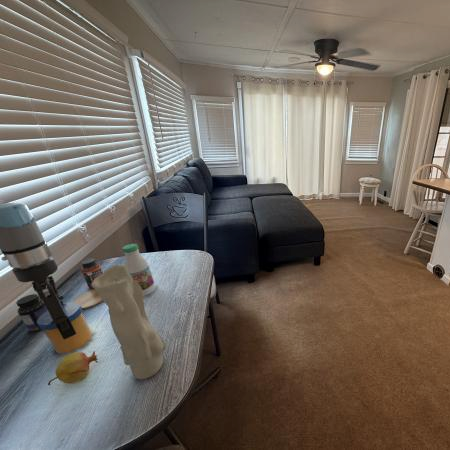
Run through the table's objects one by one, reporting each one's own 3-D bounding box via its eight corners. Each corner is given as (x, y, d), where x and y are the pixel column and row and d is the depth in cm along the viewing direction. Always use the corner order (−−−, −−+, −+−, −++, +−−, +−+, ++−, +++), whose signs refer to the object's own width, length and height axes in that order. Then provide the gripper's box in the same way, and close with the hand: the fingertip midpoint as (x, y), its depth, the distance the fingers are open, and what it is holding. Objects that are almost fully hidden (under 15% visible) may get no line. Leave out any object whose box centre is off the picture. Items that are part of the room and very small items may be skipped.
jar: (47, 353, 69) (30, 326, 65) (73, 330, 77) (59, 304, 73) (75, 353, 69) (60, 325, 65) (98, 330, 76) (86, 304, 72)
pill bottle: (55, 315, 83) (41, 289, 79) (55, 325, 79) (40, 298, 75) (29, 325, 79) (13, 298, 75) (28, 335, 75) (11, 308, 71)
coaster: (62, 310, 86) (61, 308, 86) (89, 289, 97) (89, 287, 97) (95, 309, 86) (94, 308, 85) (118, 288, 97) (118, 287, 96)
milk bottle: (130, 291, 95) (114, 246, 87) (152, 282, 100) (138, 239, 92) (136, 300, 90) (119, 253, 82) (158, 290, 95) (144, 245, 87)
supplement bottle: (99, 288, 97) (88, 265, 93) (84, 289, 97) (74, 265, 93) (110, 280, 102) (101, 257, 98) (96, 280, 103) (86, 257, 98)
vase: (143, 354, 68) (107, 263, 56) (174, 352, 68) (144, 260, 57) (124, 384, 60) (79, 285, 48) (159, 381, 60) (122, 282, 49)
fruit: (40, 386, 54) (96, 358, 60) (39, 361, 58) (91, 337, 64) (53, 399, 58) (104, 371, 64) (51, 375, 62) (99, 351, 68)
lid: (29, 330, 65) (26, 325, 64) (61, 307, 73) (58, 302, 73) (62, 330, 65) (60, 324, 64) (90, 306, 73) (88, 301, 73)
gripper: (10, 255, 66) (45, 318, 75) (12, 284, 53) (54, 357, 61) (47, 245, 71) (76, 305, 80) (58, 269, 58) (91, 338, 67)
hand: (67, 327), depth 71 cm, fingers closed on lid, 9 cm apart
